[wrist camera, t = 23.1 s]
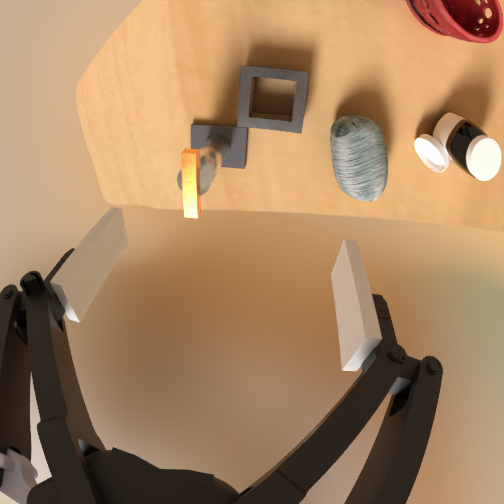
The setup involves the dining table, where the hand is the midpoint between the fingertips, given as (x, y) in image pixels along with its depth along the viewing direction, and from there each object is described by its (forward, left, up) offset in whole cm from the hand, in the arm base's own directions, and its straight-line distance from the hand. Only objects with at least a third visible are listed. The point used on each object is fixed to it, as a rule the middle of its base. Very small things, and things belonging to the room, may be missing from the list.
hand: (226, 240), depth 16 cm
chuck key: (+4, -7, -30) cm, 31 cm away
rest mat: (+4, -7, -31) cm, 32 cm away
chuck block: (-5, +1, -31) cm, 32 cm away
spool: (+2, +15, -32) cm, 35 cm away
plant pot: (-28, +25, -32) cm, 49 cm away
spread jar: (-4, +31, -32) cm, 45 cm away
